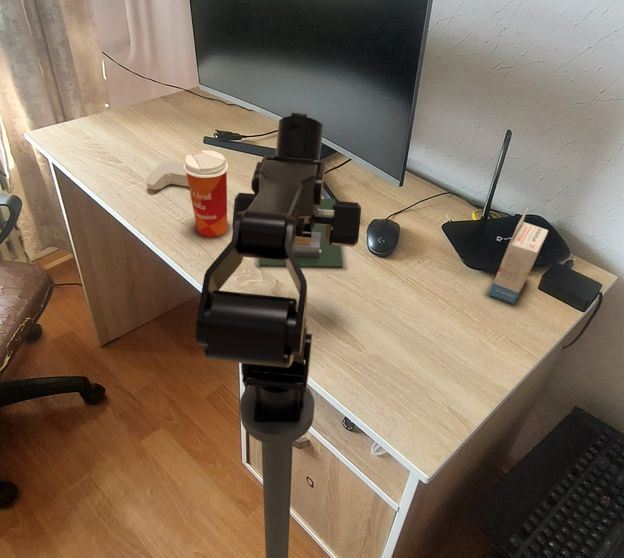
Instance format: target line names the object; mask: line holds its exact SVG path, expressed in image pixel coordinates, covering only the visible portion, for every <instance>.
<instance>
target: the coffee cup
mask: <svg viewBox="0 0 624 558" xmlns="http://www.w3.org/2000/svg"><path fill="white" fill-rule="evenodd" d="M183 163H184V166H183V168H184V171H185V172H186V174H187V180H188V185H189V187H188V189H189V194H190V199H191V200H190V201H191V204H192V209H193V214H194V219H195V224H196V228H197V232H198V233H199V234H200V235H201V236H203V237H206V238H216V237H220V236H222V235H224V234H225V233H226V232H227V230H228V180H227V179H228V178H227V177H228V175H227V171H228V170H229V164H228V162H227V160H226V158H225V156H224V155H223V154H222V153H220V152H218V151H214V150H205V149H204V150H200V151H195V152H193V153H192V154H190V153H189V154H188V155H187V156H186V157H185V160H184V162H183Z"/></svg>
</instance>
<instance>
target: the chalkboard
mask: <svg viewBox="0 0 624 558" xmlns="http://www.w3.org/2000/svg"><path fill="white" fill-rule="evenodd" d="M335 201H336V199H335V198H321V205H320V206H317V207H315V208H316V209H323V210H332V207H333V205H335ZM316 216H317V214H316ZM317 217H320V215H319V216H317ZM321 217H323V216H322V215H321ZM324 217H325V215H324ZM326 217H328V216H326ZM329 218H330V215H329ZM326 227H327V226H318V225H315V226H314V228H313V230H312V232H319V233H321V241H320V251H319V258H311V257H299V256H295V258H296V260H297V262H298V264H299V266H300V268H322V269H344V267H343V266H344V264H343V255H342V254H343V253H342V246H338V245H329V243H328V241H327V240H326V238H325V236H326ZM258 259H259V260H258V266H259V267H276V268H277V267H278V268H279V267H280V268H283V267H284V268H287V264H286V259H285V260H284V261H281V260H271V259H260V258H258Z"/></svg>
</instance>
